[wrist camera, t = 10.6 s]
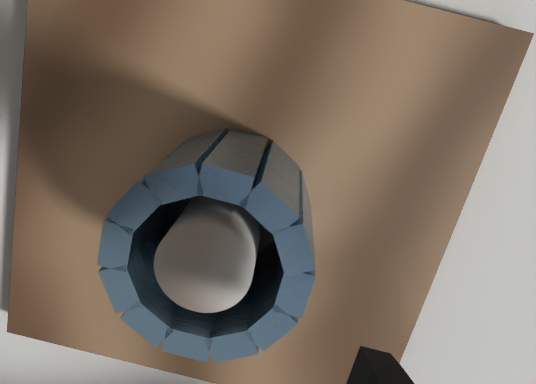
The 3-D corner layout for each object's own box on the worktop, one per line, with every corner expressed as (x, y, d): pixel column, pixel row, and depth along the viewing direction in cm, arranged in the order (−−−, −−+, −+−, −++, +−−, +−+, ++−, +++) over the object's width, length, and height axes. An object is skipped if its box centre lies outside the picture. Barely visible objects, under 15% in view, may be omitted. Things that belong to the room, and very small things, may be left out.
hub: (328, 153, 16) (340, 200, 11) (286, 290, 17) (280, 381, 13) (171, 111, 15) (115, 140, 11) (145, 253, 17) (87, 331, 12)
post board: (519, 34, 15) (655, 26, 9) (371, 404, 20) (399, 547, 14) (50, -86, 15) (-108, -170, 9) (21, 318, 20) (-92, 427, 14)
